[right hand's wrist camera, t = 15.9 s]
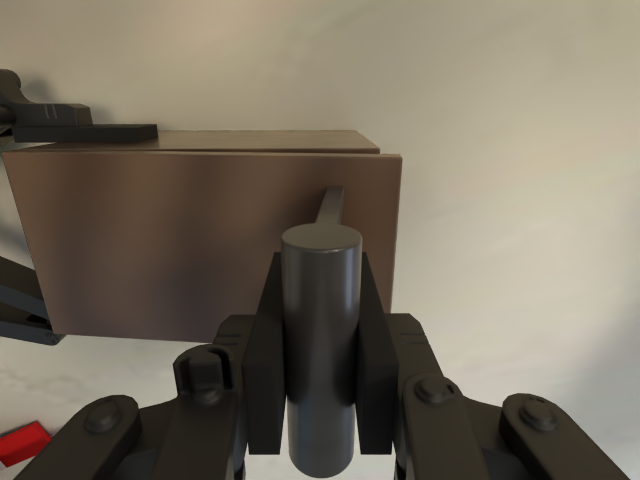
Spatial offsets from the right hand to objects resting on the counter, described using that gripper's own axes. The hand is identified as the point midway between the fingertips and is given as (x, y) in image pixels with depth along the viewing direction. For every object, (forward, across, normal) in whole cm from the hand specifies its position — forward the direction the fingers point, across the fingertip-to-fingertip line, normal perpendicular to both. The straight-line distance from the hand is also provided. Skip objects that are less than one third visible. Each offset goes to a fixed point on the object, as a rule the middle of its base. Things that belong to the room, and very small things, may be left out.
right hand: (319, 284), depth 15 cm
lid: (+3, -5, 0) cm, 6 cm away
